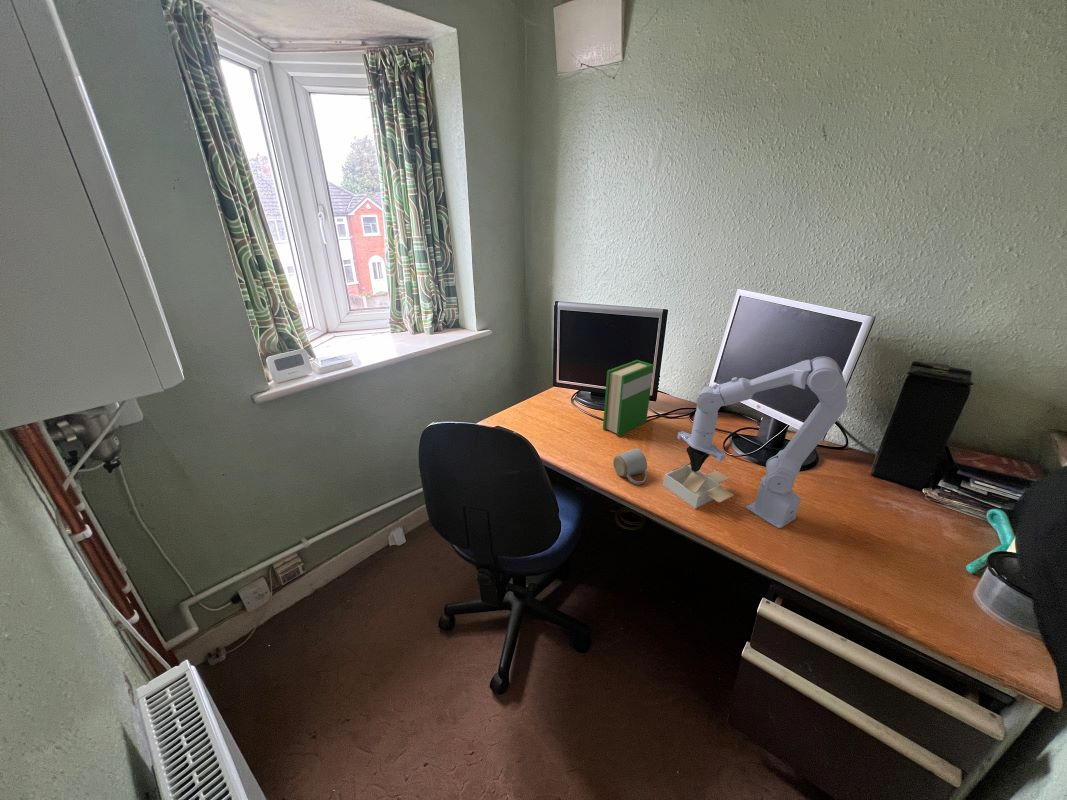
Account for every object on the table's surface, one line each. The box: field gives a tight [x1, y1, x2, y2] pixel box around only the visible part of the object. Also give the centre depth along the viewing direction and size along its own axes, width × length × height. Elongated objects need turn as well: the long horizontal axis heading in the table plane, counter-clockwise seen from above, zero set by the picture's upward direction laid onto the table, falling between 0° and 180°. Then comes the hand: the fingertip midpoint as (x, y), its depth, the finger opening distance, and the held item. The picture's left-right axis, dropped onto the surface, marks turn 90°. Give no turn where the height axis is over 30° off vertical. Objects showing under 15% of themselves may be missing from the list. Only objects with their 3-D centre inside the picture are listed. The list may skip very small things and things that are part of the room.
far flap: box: [671, 462, 691, 471], centre depth 120 cm, size 5×6×1 cm
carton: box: [662, 465, 734, 510], centre depth 117 cm, size 16×15×4 cm
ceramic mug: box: [612, 447, 648, 486], centre depth 124 cm, size 11×8×8 cm
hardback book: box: [602, 359, 655, 438], centre depth 150 cm, size 18×7×24 cm, turn 131°
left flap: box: [682, 472, 706, 493], centre depth 112 cm, size 4×4×1 cm
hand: (695, 470), depth 116 cm, fingers closed
